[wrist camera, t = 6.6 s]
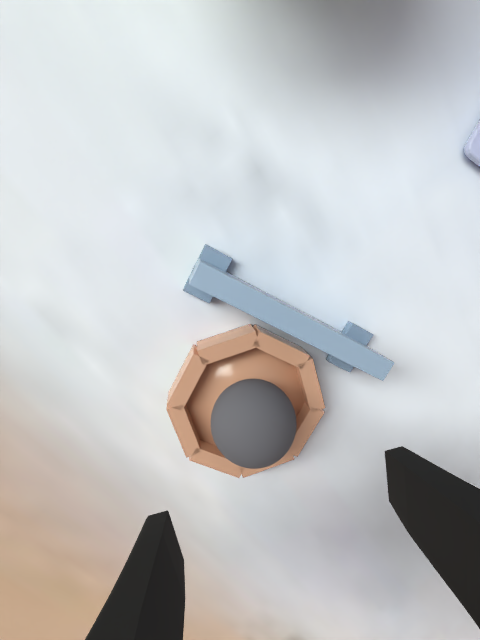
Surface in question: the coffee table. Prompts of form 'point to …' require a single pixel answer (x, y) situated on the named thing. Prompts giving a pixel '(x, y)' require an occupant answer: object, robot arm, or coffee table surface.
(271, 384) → the ball
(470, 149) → the robot arm
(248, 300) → the blue slab with nubs
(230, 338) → the bowl
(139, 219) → the coffee table surface
